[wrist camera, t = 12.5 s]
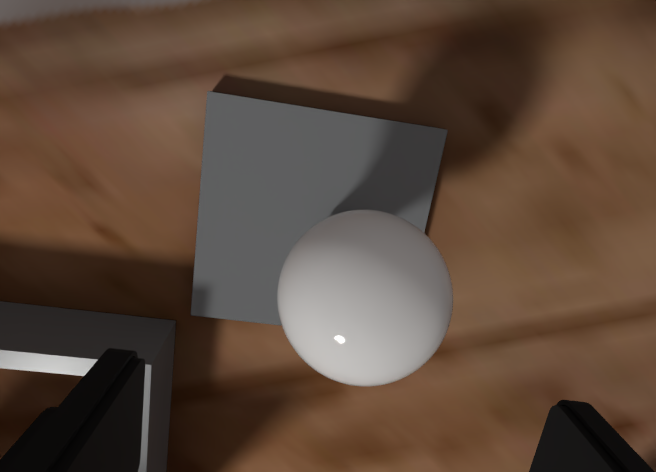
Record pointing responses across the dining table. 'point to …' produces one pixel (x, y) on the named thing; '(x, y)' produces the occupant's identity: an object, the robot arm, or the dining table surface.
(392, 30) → the dining table surface
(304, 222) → the mat
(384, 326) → the lightbulb
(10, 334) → the case
